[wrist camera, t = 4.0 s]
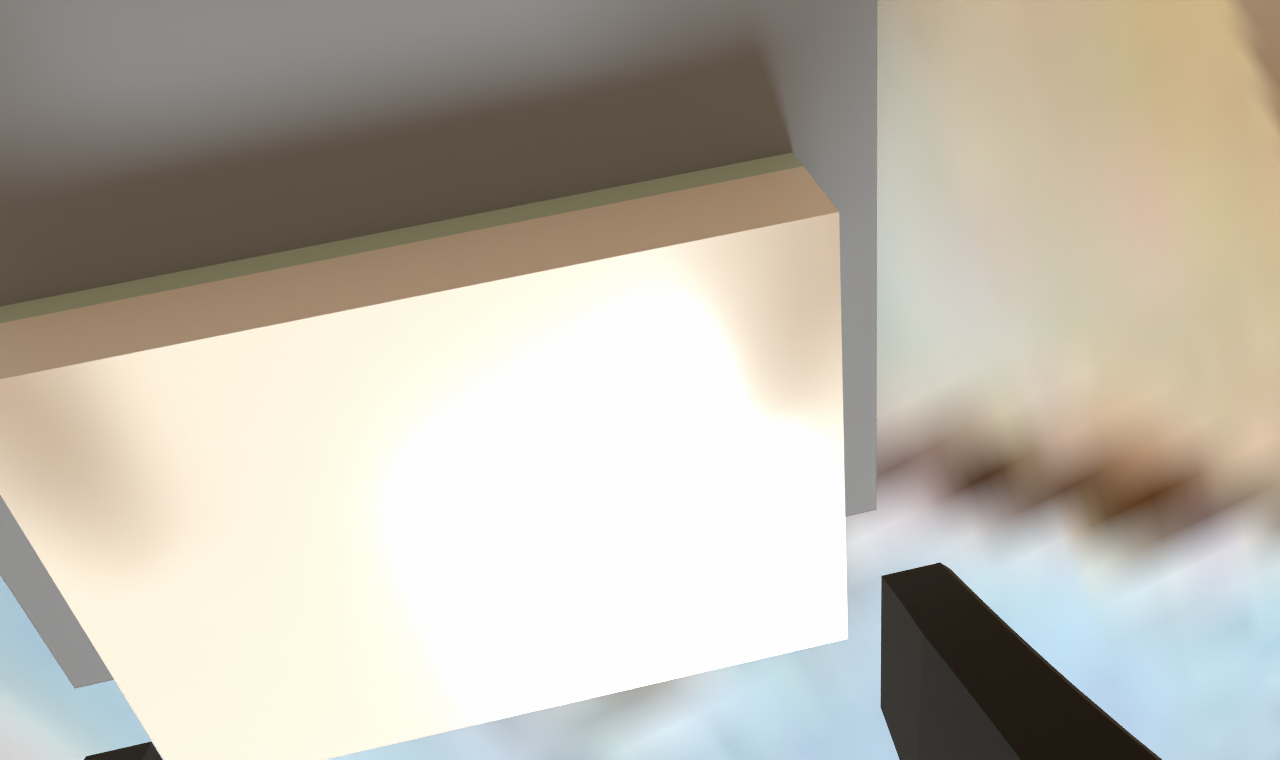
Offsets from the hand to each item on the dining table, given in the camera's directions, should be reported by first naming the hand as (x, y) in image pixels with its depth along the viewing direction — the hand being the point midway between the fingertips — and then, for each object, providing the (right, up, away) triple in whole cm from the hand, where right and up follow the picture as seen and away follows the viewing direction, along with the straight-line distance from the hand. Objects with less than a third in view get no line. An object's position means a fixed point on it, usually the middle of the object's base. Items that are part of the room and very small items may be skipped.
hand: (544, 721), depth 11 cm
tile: (-1, -1, +4) cm, 4 cm away
